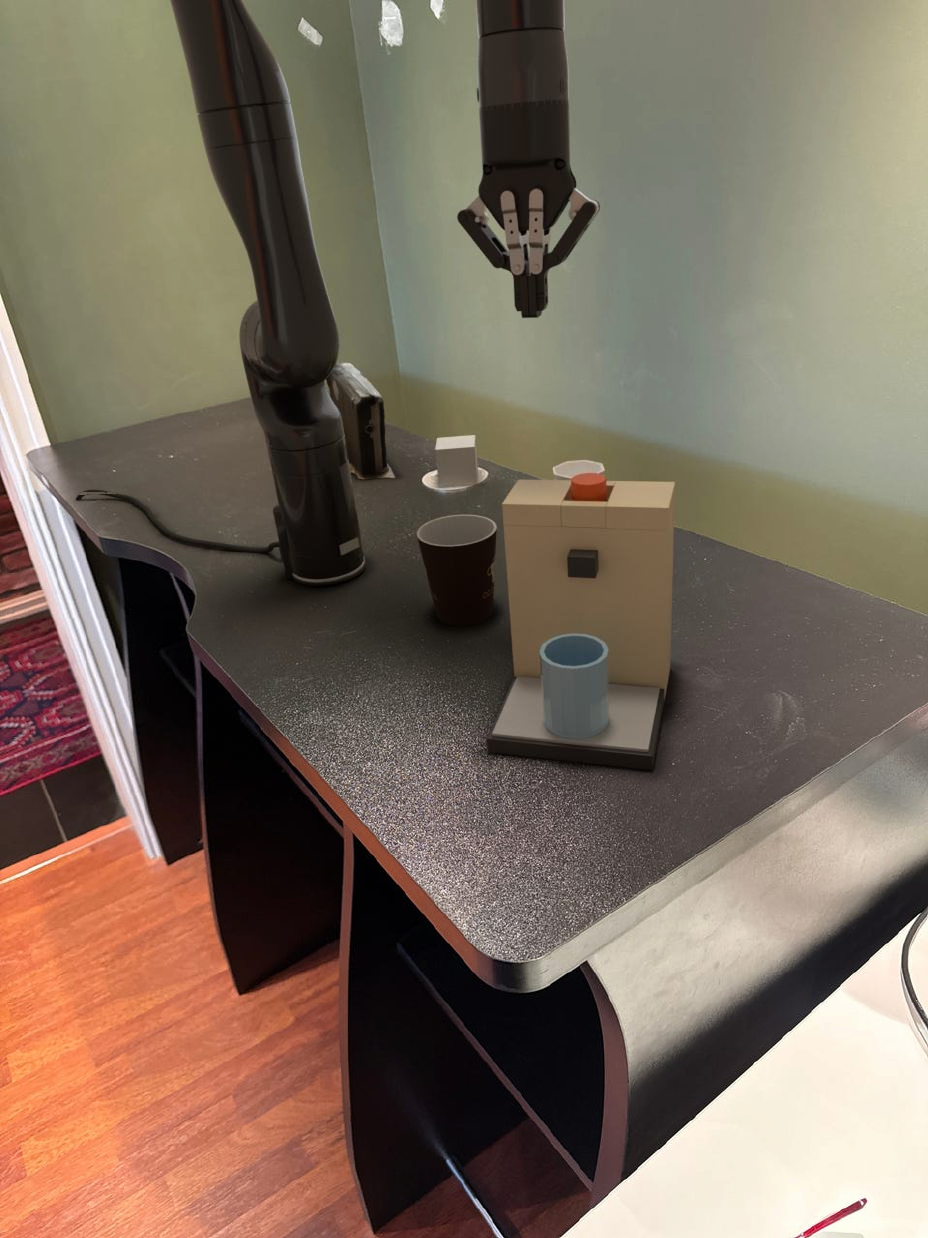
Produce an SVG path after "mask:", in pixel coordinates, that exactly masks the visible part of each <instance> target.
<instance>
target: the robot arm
mask: <svg viewBox="0 0 928 1238" xmlns="http://www.w3.org/2000/svg"><path fill="white" fill-rule="evenodd" d="M169 1H170V5H171V8H172V13H173V16H174V19H175V24H176V28H177V33H178V36H179V39H180V40H179V41H180V45H181V48H182V52H183V55H184V59H185V63H186V64H185V65H186V68H187V72H188V73H187V74H188V76H189V81H190V86H191V91H192V96H193V97H192V98H193V101H194V105H195V106H194V107H195V111H196V114H197V116H196V117H197V120H198V125H199V130H200V134H201V139H202V142H203V147H204V151H205V154H206V159H207V162H208V165H209V168H210V172H211V174H212V177H213V180H214V182H215V185H216V187H217V189H218V192H219V194H220V196H221V199H222V200H223V203H224V205H225V207H226V209H227V212H228V214H229V216H230V218H231V221H233V224H234V226H235V228H236V230H237V233H238V235H239V236H240V239H241V241H242V243H243V246H244V249H245V251H246V255H247V257H248V260H249V264H250V269H251V273H252V278H253V284H254V289H255V294H256V300H255V301H254V302H252V303H251V304H250V305H249V306H248V308H247V309H246V310H245V312H244V314H243V316H242V318H241V320H240V325H239V333H238V334H239V336H238V337H239V340H238V341H239V348H240V349H239V350H240V354H241V355H240V356H241V360H242V365H243V369H244V373H245V378H246V381H247V386H248V390H249V394H250V395H249V396H250V399H251V403H252V407H253V410H254V414H255V416H256V419H257V421H258V423H259V425H260V427H261V429H262V432H263V435H264V439H265V444H266V449H267V453H268V454H267V455H268V458H269V463H270V469H271V473H272V478H273V483H274V488H275V493H276V494H275V495H276V498H277V504H275V505H274V507H273V508H272V514H273V515H272V516H273V519H274V524H275V528H276V534H277V539H278V541H273V542H270V543H269V544H268V546H263V547H256V546H255V547H253V546H243V545H237V544H230V543H226V542H225V543H223V542H217V541H210V540H205V539H204V540H203V539H198V538H197V539H196V538H192V537H187V536H184V535H180V534H178V533H175V532H173V531H171V530H170V529H169V528H167V527H166V526H164V524H163V523H162V522H160V520H159V519H157V517H156V516H155V515H154V514H153V512H152V511H151V509H150V508H149V507H148V506H147V505H145V504H144V503H143V502H141V501H140V500H138V499H137V498H135V497H134V496H131V495H128V494H123V493H118V492H115V493H116V494H99V496H106V497H110V498H115V499H119V500H120V499H121V500H125V501H128V502H132V503H133V504H135V505H136V506H137V507H138V508H140V509H141V510H143V512H144V513H145V514H146V515H147V517H148V518H149V520H150V521H151V522H152V523H153V524H154V525H155V526H156V527H157V529H159V530H160V531H161V532H162V533H164V534H165V535H166V536H168V537H170V538H172V539H174V540H176V541H180V542H183V543H185V544H190V545H195V546H201V547H208V548H215V549H222V550H228V551H233V552H242V553H255V554H256V553H257V554H266V553H267V554H268V553H271V552H273V550H274V549H275V548H278V551H279V555H280V559H281V562H282V563H283V567H284V572H285V578H286V579H289V580H294V581H295V582H296V583H298V584H301V585H305V586H310V587H311V586H313V587H325V586H331V585H336V584H337V585H338V584H341V583H344V582H347V581H350V580H353V579H354V578H356V577H357V576H359V575H360V574H362V573H363V572H364V571H365V569H366V566H367V564H366V557H365V554H364V548H363V544H362V543H363V541H362V538H361V537H362V536H361V530H360V523H359V517H358V511H357V510H358V509H357V503H356V499H355V492H354V485H353V478H352V473H351V472H350V465H349V459H348V453H347V447H346V440H345V434H344V427H343V421H342V416H341V414H340V411H339V410H338V408H337V407H336V405H335V404H334V402H333V401H332V399H331V397H330V392H329V390H328V387H327V384H326V382H325V381H326V379H327V378H328V377H329V375H330V374H331V373H332V371H333V369H334V367H335V365H336V363H338V359H339V353H340V335H339V334H340V333H339V329H338V324H337V321H336V320H337V319H336V317H335V313H334V310H333V306H332V304H331V299H330V296H329V293H328V288H327V286H326V282H325V278H324V275H323V271H322V267H321V265H320V259H319V256H318V253H317V247H316V242H315V238H314V232H313V225H312V219H311V214H310V213H311V212H310V208H309V200H308V194H307V189H306V184H305V179H304V174H303V169H302V161H301V154H300V148H299V141H298V135H297V130H296V125H295V124H296V123H295V119H294V112H293V109H292V103H291V97H290V92H289V89H288V85H287V82H286V78H285V76H284V74H283V71H282V69H281V67H280V65H279V62H278V61H277V59H276V57H275V55H274V53H273V52H272V50H271V48H270V45H269V44H268V42H267V41H266V39H265V38H264V36H263V34H262V32H261V30H260V28H259V27H258V26H257V24H256V22H255V20H254V19H253V17H252V16H251V13H250V12H249V10H248V9H247V6H246V5H245V2H244V1H243V0H169ZM475 8H476V27H477V38H478V39H477V48H478V49H477V62H476V81H477V83H476V84H477V87H476V100H477V104H478V117H479V132H480V149H481V151H480V152H481V167H482V175H481V179H480V182H479V184H478V190H477V193H478V196H477V197H476V198H475V199H474V200H473V201H472V202H471V203H470V204H469V205H468V206H467V207H466V208H464V209H461V210H459V212H458V213H457V216H456V219H457V222H458V224H460V226H461V227H462V228H463V229H464V231H465V232H466V233H467V235H468V236H469V238H471V240H472V241H473V243H474V244H475V245H476V246H477V247H478V249H479V250H480V251H481V253H483V255H484V256H485V258H486V259H487V260H488V261H489V263H490V264H491V265H492V266H493V267H494V269H502V270H505V271H508V272H509V273H510V274H511V276H512V279H513V299H514V300H513V301H514V307H515V310H516V312H520V315H521V318H522V319H538V318H540V317H541V316H542V313H543V311H545V310H546V309H547V307H548V305H549V283H548V280H549V279H548V278H549V277H548V273H549V271H550V269H552V268H555V267H556V266H560V265H561V264H562V263H564V262H566V260H567V259H568V258H569V257H570V255H571V253H572V252H573V251H574V249H575V247H576V246H577V245H578V244H579V242H580V240H581V238H582V237H583V236H584V234H585V233H586V231H587V230H588V228H589V227H590V225H591V224H592V223H593V221H594V220H595V218H596V217H597V215H598V214H599V212H600V210H601V205H600V202H599V201H598V200H596V199H590V198H589V197H588V196H586V195H585V194H584V193H582V192H581V191H580V190H579V189H577V179H576V177H575V175H574V173H573V170H572V168H571V143H570V142H571V140H570V139H571V138H570V135H571V134H570V75H569V73H570V71H569V70H570V69H569V58H568V57H569V56H568V50H567V42H566V41H567V40H566V32H565V29H566V23H565V21H566V19H565V15H566V14H565V0H475ZM569 202H570V207H569V210H568V218H569V219H570V220H571V222H570V223H569V225H568V226H567V228H566V229H565V231H564V232H563V234H562V236H561V237H560V238H559V240H558V241H557V243H556V244H555V246H554V247H553V249H552V250H551V251H550V243H551V237H552V228H553V227H554V226H555V225H556V224H557V222H558V220H559V219H560V217H561V215H562V214H563V212H564V211H565V209H566V208H567V205H568V204H569ZM487 210H488V211H487ZM487 212H489V213H490V215H491V216H492V217H493V219H494V220H495V222H496V223H497V224H498V225H499V227H500V228H501V229H502V230H503V231H504V234H505V242H506V246H505V245H504V244H503V242H502V241H501V240H500V239H499V238H498V236H497V235H496V234H495V232H494V231H493V229H492V228H491V227H490V226H489V225H488V223H489V221H490V217H489V213H487ZM506 247H507V248H506ZM82 492H105V493H107V492H110V491H108V490H103V489H94V488H93V489H86V490H83V491H82ZM79 494H80V493H78V494H77V495H76V497H75V501H81V500H82V499H83V498H84V497H85V496H88V495H89V494H87V495H79Z"/></svg>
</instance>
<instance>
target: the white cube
mask: <svg viewBox="0 0 928 1238" xmlns="http://www.w3.org/2000/svg"><path fill="white" fill-rule="evenodd" d="M434 448H435V449H434V454H435V462H436V471H437V472H436V473H437V481H438V488H446V487H460V486H461V487H462V486H472V485H473V486H475V485H478V484H479V463H478V452H477V439H476V435H475V434H473V435H456V436H444V437H437V438H436V442H435V447H434Z"/></svg>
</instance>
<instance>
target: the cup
mask: <svg viewBox="0 0 928 1238" xmlns="http://www.w3.org/2000/svg"><path fill="white" fill-rule="evenodd" d="M552 472H553V479H554V480H571V479H572V478H573V477H574V476H576V475H579V474H584V473H598V474H602V475H604V476H605V473H606V469H605V466H604V464H603V463H602V462H598V461H592V460H589V459H580V460H567V461H564V462H561V463H559V464H557V465H555V466H553V467H552Z"/></svg>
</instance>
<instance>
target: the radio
mask: <svg viewBox="0 0 928 1238" xmlns="http://www.w3.org/2000/svg"><path fill="white" fill-rule="evenodd" d="M325 381H326V382H325V383H326V386H327V388H328V392H329V395H330V397H331V399H332V401H333V402H334V404H335V405H336V407H337V408H338V410H339V411H340V414H341V416H342V421H343V427H344V434H345V440H346V447H347V453H348V459H349V465H350V472H351V474H354V475H356V477H357V479H359V480H373V479H385V478H391V479H396V476H395V474H394V472H393V470H392V467H390V465H389V464H388V463H387V462H388V461H387V444H386V425H385V424H386V422H385V419H386V414H385V403H384V402H385V401H384V398H383V396H382V395H381V393H380V392H379V391H378V390H377V389H376V388H375V387H374V386H373V384H372V383H371V382H370V381H369V380H368V379H367V377H365V376H364V374H363V372H362V371H360V370H359V368H357V367H355V366H354V365H353V364H352V363H350V362H336V365H335V367H334V369H333V371H332V373H331V374H330V375H329V377H328V378H327V379H326V380H325Z"/></svg>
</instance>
